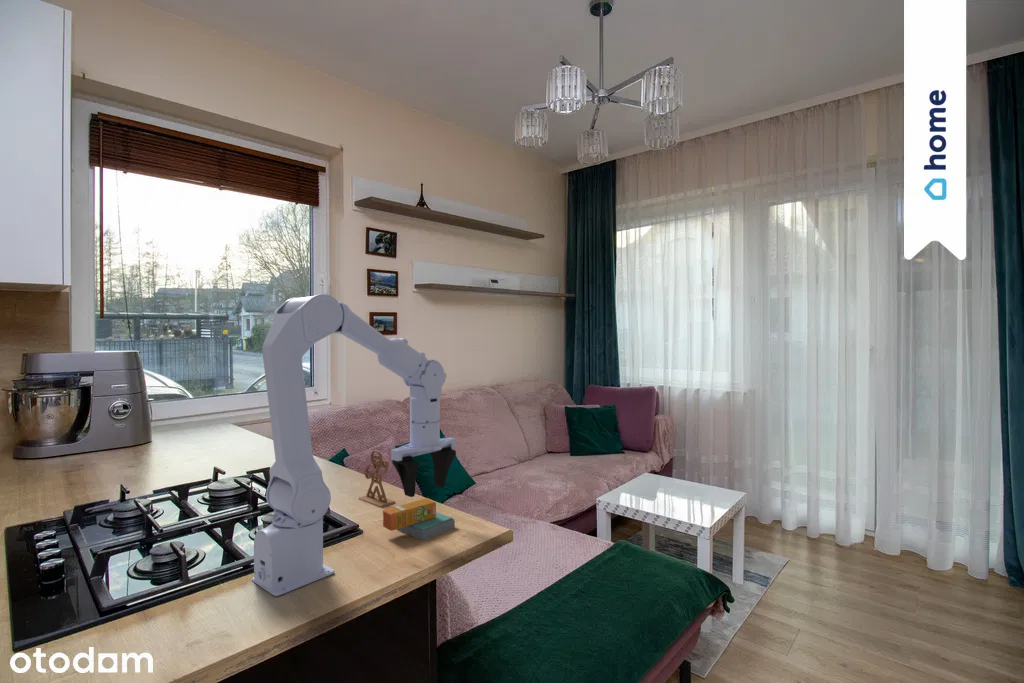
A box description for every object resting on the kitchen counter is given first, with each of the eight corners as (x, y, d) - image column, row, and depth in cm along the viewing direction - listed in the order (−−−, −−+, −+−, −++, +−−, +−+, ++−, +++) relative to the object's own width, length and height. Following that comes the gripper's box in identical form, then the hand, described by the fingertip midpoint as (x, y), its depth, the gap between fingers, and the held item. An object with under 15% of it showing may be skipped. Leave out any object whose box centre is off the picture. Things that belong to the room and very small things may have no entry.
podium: (423, 540, 91) (423, 529, 91) (395, 530, 96) (395, 519, 96) (454, 527, 97) (454, 517, 97) (427, 518, 102) (427, 508, 102)
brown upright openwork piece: (357, 501, 113) (357, 449, 113) (372, 497, 116) (372, 446, 116) (381, 510, 107) (381, 454, 107) (396, 505, 110) (395, 451, 110)
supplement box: (391, 514, 90) (436, 500, 97) (381, 509, 93) (426, 496, 100) (392, 532, 90) (437, 517, 97) (382, 527, 93) (427, 513, 100)
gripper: (408, 428, 88) (408, 504, 89) (465, 418, 100) (466, 486, 100) (384, 424, 93) (384, 496, 93) (441, 414, 104) (442, 479, 104)
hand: (425, 490), depth 97 cm, fingers open, 7 cm apart
